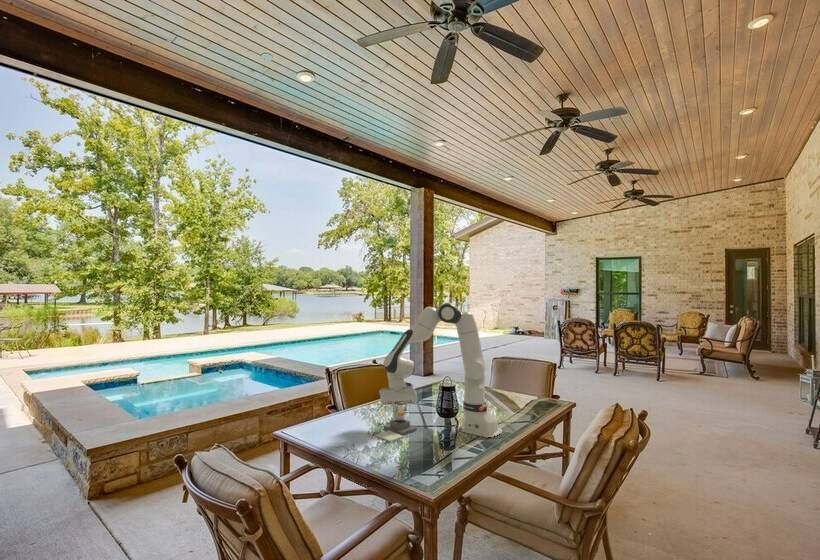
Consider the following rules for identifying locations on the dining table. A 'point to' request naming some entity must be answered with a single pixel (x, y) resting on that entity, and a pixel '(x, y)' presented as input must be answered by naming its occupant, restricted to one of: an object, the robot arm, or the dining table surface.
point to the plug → (400, 410)
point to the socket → (400, 427)
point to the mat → (389, 436)
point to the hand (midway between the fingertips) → (400, 410)
